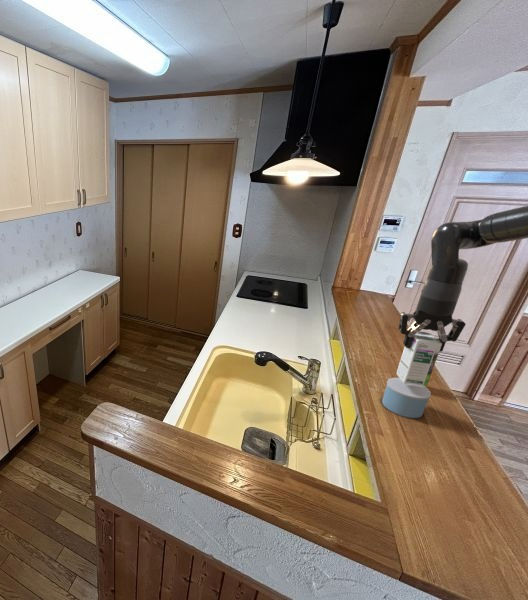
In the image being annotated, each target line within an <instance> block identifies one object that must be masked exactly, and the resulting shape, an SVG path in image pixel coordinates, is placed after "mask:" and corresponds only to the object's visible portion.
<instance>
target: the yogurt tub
mask: <svg viewBox="0 0 528 600" xmlns="http://www.w3.org/2000/svg"><path fill="white" fill-rule="evenodd" d="M431 396H432V392H431V391H430V389H429V388H427V386H426V387H425V386H420V385H414V384H405V383H403V381H402V380H401V379H400V378H398V377H390V378H388V379H387V380H386V387H385V389H384V393H383V395H382V399H381V402H382V405H383V406H384V407H385V408H386V409H387V410H389V411H390V412H392V413H394V414H396V415H398V416H401V417H405V418H409V419H419V418H422V416H423V414H424V412H425V410H426V406H427V404H428V401H429V399H430V397H431Z"/></svg>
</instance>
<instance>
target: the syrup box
mask: <svg viewBox="0 0 528 600" xmlns="http://www.w3.org/2000/svg"><path fill="white" fill-rule="evenodd" d="M432 335H433V334H432ZM432 335H421V334H418V333H416V334H415V335H414V336H413V340H412V343H411V346H410V348H406V347H405V346H404V348H403V352H402V354H401V357H400V360H399V363H398V367H397V370H396V372H395V373H396V375H397V378H398V377H399V378H400V379H401V380H402V381H403V383H405V384H414V385H420V386H424V387H426V388H427V387H428V385H429V382H430V378H431V376H432V373H433V370H434V368H435V365H436V362H437V360H438V356H439V354H440V352H439V351H440V348H441V345H442V343H441V342H440V341H439V340H438V339H439V338H437V337H435V336H434V335H433V336H432Z"/></svg>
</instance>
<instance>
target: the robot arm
mask: <svg viewBox="0 0 528 600" xmlns="http://www.w3.org/2000/svg"><path fill="white" fill-rule="evenodd" d="M524 239H528V205H525V206H519V207H516V208H512V209H507V210H503V211H499V212H495V213H492V214H489V215H487V216H485V217H484V218H482V219H478V220H477V219H476V220H472V221H471V220H470V221H449V222H445V223H443V224H440V225H439V226H438V227H437V228H436V230H435V231H434V232H433V234H432V236H431V241H430V248H431V250H430V251H431V255H430V256H431V257H430V258H431V265H430V268H429V272H428V274H427V278H426V280H425V282H424V284H423V286H422V289H421V291H420V292H421V293H420V296H419V300H418V302H417V306H416V310H415V311H414V312H412V313H406V312H404V311H401V312H400V313H399V315H400V316H399V323H398V331H399V332H400V334H402V335H404V338H403V341H402V343H403V346H404V347H406V348H410V346H411V343H412V340H413V336H414V335H415V334H418V332H422V330H426V331H429V330H430V331H431V332H436V333H437V337H438V338H437V339H438V340H439V341H440V342H441V343H442V345H441V348H440V351H439V353H440V352H441V353H442V352H443V351H444V348H445V345H446V343H447V342H457V340H458V339H459V337H460V335H461V334H462V332H463V330H464V328H465V327H466V325H467V324H466V322H465V321H463V320H462V318H457V319H456V318H453V314H454V312H455V309H456V306H457V304H458V301H459V298H460V295H461V293H462V289H463V283H464V281H465V277H466V274H467V271H468V269H469V263H468V261H467V260H465V259H463V258H460V255H459V254H460V250H470V249H471V250H472V249H477V248H483V247H487V246H490V245H494V244H499V243H507V242H513V241H519V240H524ZM412 319H413V320H414V321H413V323H412V324H411V325H410V327H408V322H410V321H411V320H412ZM450 324H451V326H452V327H451V329H450V331H449V332H448V334H447V332H446V330H445V327H447V326H449V325H450Z"/></svg>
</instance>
